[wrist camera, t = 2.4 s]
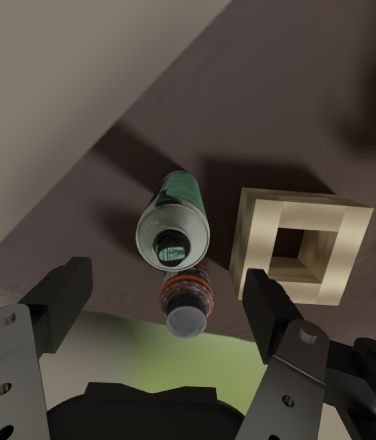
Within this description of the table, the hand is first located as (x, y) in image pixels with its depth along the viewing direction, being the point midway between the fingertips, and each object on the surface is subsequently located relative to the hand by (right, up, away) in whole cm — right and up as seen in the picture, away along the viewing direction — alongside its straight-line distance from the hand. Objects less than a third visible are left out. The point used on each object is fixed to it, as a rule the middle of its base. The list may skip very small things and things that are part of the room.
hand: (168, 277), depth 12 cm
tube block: (+15, +1, +24) cm, 28 cm away
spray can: (0, +7, +21) cm, 23 cm away
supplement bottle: (+1, -4, +25) cm, 26 cm away
